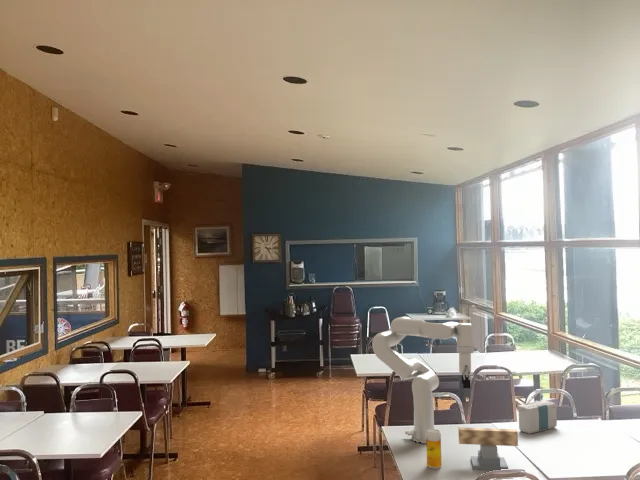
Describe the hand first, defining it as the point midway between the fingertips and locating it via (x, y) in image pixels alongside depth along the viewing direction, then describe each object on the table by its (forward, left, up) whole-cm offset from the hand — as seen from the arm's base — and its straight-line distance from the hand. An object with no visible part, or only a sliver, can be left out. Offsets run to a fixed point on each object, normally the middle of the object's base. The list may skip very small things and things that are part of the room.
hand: (466, 385), depth 263 cm
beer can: (-16, -28, -28) cm, 43 cm away
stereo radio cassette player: (+37, +31, -29) cm, 56 cm away
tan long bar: (+7, -23, -19) cm, 31 cm away
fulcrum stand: (+7, -23, -28) cm, 37 cm away
